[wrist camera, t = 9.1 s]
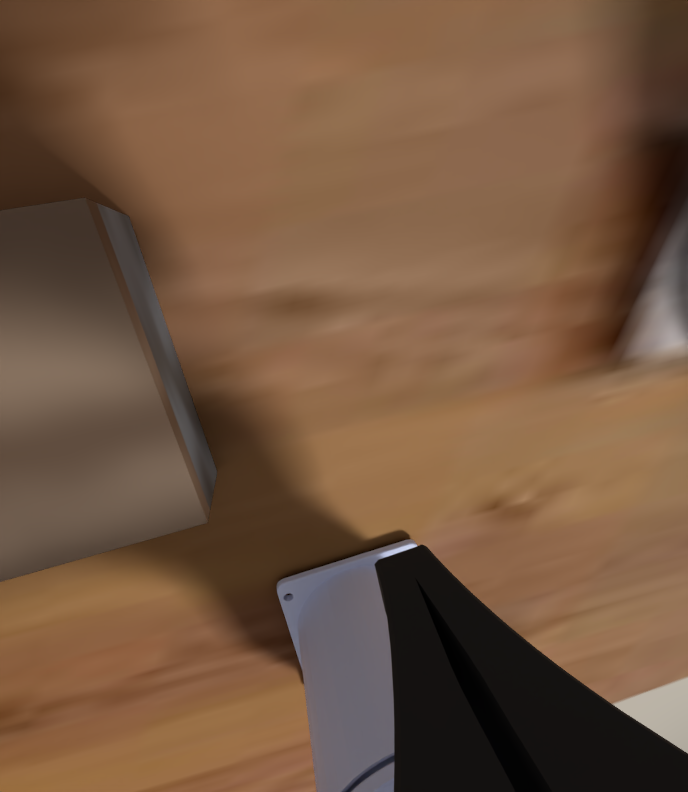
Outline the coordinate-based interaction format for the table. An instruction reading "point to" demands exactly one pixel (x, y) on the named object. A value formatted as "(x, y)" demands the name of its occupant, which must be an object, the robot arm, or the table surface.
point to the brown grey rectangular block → (89, 394)
